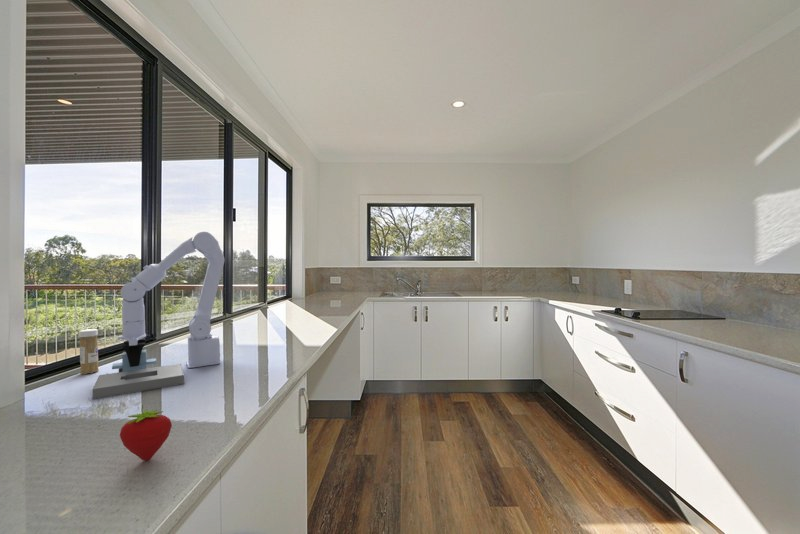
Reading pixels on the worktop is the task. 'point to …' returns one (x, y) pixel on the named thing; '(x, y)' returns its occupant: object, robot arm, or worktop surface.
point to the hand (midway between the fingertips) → (134, 364)
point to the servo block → (126, 366)
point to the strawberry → (145, 433)
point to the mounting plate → (138, 380)
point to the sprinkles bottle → (88, 351)
